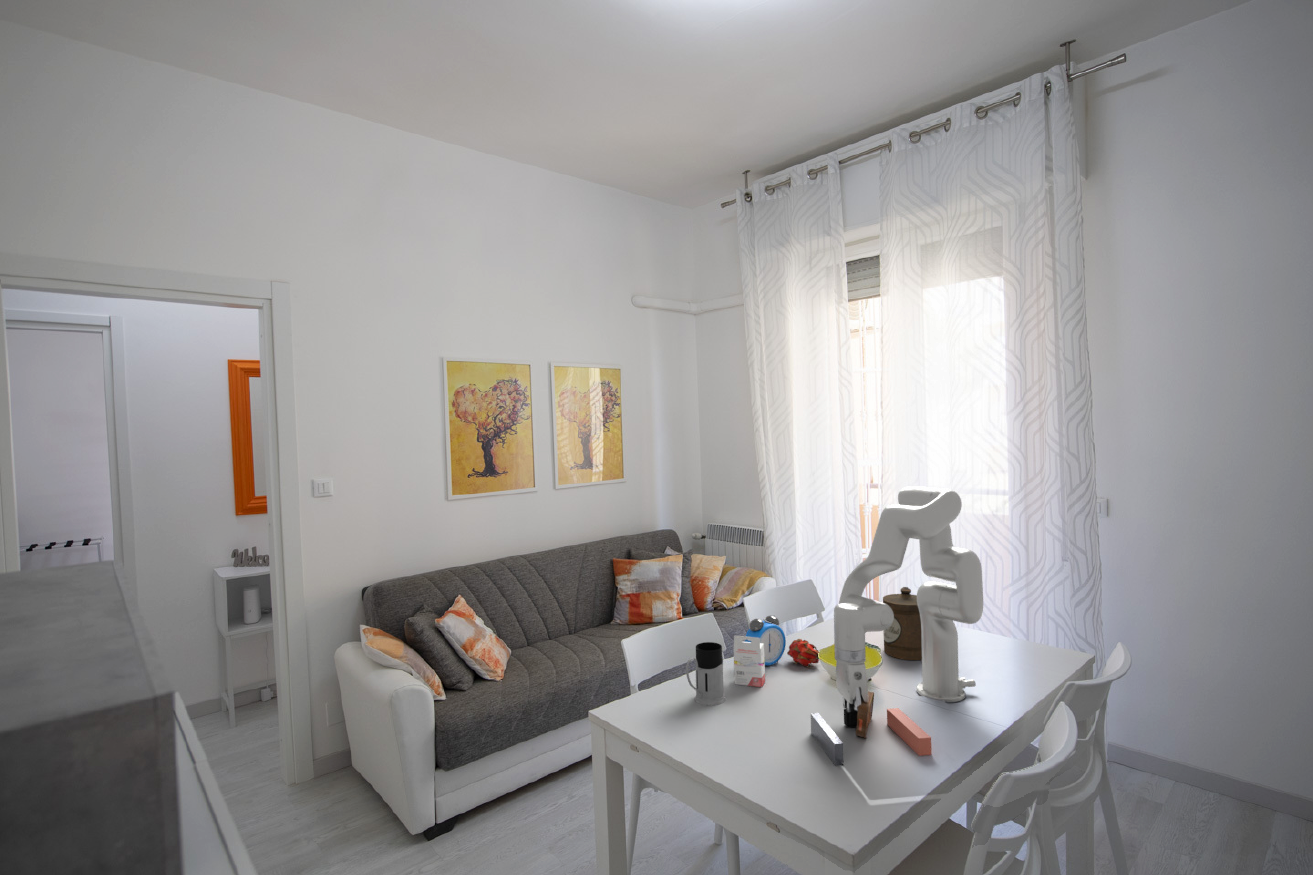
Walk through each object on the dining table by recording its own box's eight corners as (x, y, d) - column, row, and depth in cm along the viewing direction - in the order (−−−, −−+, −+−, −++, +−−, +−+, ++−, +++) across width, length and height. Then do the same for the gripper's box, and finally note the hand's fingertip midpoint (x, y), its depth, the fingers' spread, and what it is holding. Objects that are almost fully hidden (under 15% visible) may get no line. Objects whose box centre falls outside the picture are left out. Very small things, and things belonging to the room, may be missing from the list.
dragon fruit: (789, 662, 217) (819, 678, 208) (777, 653, 211) (807, 668, 203) (800, 639, 219) (830, 653, 210) (789, 630, 214) (819, 643, 205)
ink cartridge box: (765, 681, 197) (764, 633, 197) (762, 687, 193) (760, 638, 193) (738, 678, 201) (736, 630, 200) (733, 684, 196) (732, 635, 196)
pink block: (898, 723, 166) (898, 707, 166) (931, 754, 150) (931, 737, 150) (887, 724, 166) (886, 708, 166) (919, 755, 150) (918, 738, 150)
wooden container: (879, 645, 227) (878, 582, 227) (924, 645, 225) (923, 582, 225) (889, 660, 213) (887, 592, 212) (936, 661, 210) (935, 593, 210)
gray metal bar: (818, 732, 164) (818, 712, 164) (843, 765, 148) (843, 743, 148) (811, 733, 164) (810, 713, 164) (835, 765, 148) (834, 743, 148)
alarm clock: (756, 670, 207) (755, 623, 206) (743, 664, 212) (742, 618, 212) (786, 661, 213) (785, 616, 213) (774, 656, 219) (772, 611, 218)
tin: (865, 744, 157) (870, 711, 156) (851, 740, 158) (857, 707, 158) (872, 718, 171) (877, 687, 170) (859, 714, 172) (864, 684, 171)
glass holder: (731, 697, 186) (730, 645, 186) (700, 714, 176) (698, 659, 176) (707, 689, 192) (706, 639, 192) (675, 705, 182) (674, 652, 182)
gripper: (876, 663, 158) (878, 738, 158) (852, 643, 173) (853, 711, 173) (846, 664, 157) (848, 740, 158) (825, 644, 172) (826, 713, 173)
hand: (851, 725), depth 166 cm, fingers closed
